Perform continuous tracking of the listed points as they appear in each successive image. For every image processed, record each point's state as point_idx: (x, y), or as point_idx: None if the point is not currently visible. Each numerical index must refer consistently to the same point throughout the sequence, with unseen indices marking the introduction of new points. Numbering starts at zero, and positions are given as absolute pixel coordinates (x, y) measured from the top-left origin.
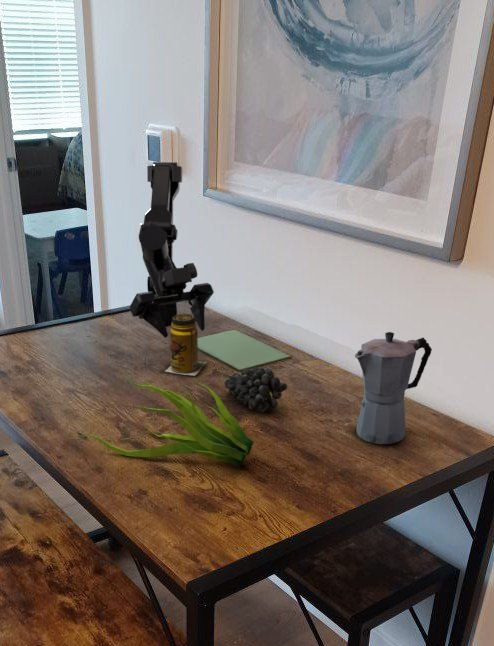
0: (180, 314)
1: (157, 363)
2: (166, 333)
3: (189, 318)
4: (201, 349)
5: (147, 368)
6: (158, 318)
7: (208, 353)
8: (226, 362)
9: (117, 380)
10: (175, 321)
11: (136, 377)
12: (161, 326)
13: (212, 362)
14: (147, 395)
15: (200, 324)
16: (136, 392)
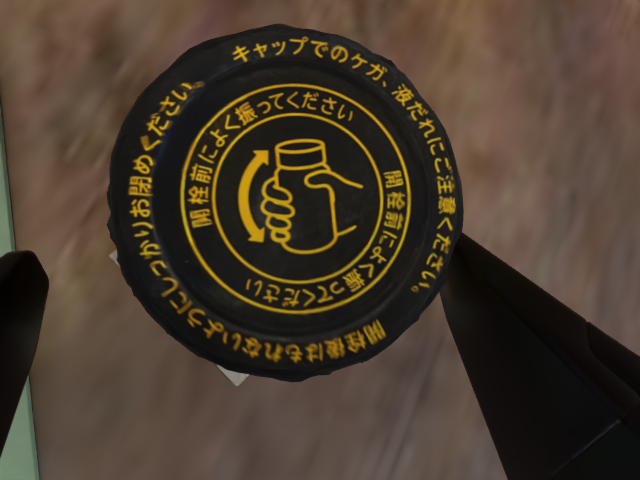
0: (274, 361)
1: (365, 371)
2: (461, 236)
3: (229, 127)
4: (35, 467)
5: (436, 328)
6: (607, 352)
7: (28, 388)
8: (5, 200)
9: (605, 251)
10: (448, 148)
11: (521, 245)
12: (530, 283)
13: (77, 256)
14: (545, 42)
15: (15, 312)
16: (575, 93)
